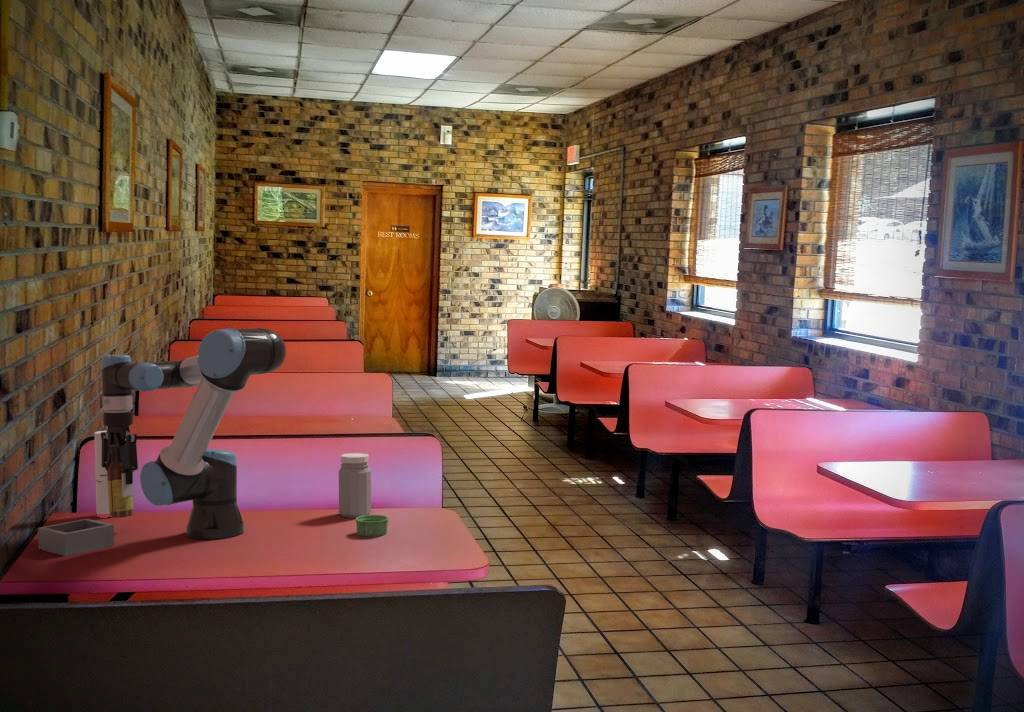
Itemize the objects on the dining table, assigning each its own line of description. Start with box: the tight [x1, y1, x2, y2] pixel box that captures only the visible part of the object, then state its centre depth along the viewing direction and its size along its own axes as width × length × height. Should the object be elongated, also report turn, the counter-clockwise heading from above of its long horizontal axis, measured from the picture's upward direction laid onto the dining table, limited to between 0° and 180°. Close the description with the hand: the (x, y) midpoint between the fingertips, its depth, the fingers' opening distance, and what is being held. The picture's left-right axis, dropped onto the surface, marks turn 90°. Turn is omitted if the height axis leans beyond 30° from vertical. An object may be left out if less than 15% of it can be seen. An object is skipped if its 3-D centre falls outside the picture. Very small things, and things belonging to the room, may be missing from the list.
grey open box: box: [37, 518, 115, 557], centre depth 255 cm, size 12×13×6 cm
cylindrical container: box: [94, 430, 110, 514], centre depth 292 cm, size 7×7×25 cm
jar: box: [338, 452, 372, 519], centre depth 294 cm, size 10×10×18 cm
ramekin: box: [355, 514, 389, 538], centre depth 271 cm, size 9×9×4 cm
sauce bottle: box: [108, 445, 134, 519], centre depth 272 cm, size 7×6×20 cm
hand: (120, 494), depth 272 cm, fingers closed on sauce bottle, 6 cm apart
